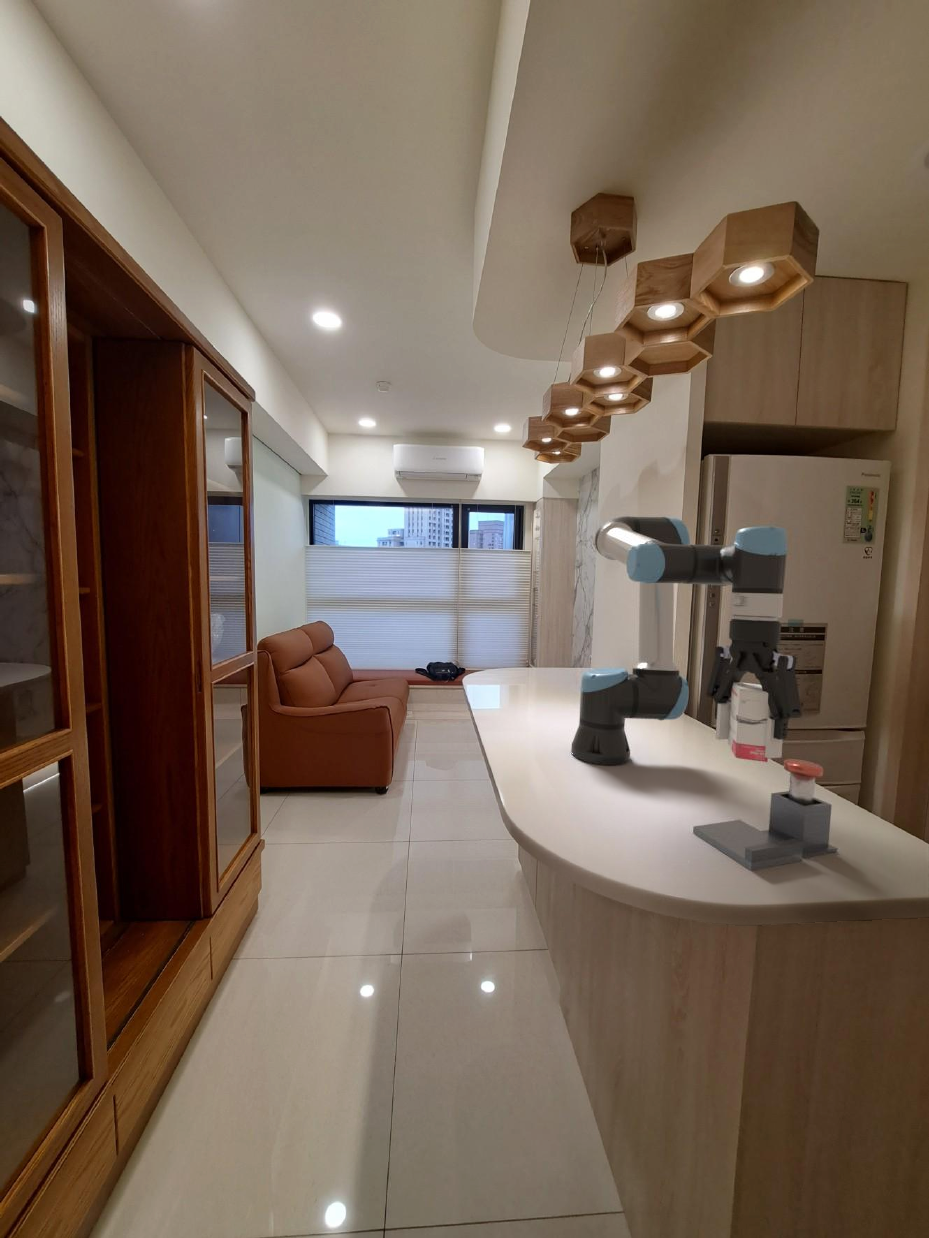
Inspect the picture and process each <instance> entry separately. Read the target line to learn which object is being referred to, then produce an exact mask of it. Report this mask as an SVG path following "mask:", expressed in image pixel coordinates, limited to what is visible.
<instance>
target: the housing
mask: <svg viewBox="0 0 929 1238" xmlns="http://www.w3.org/2000/svg"><path fill="white" fill-rule="evenodd" d="M788 796H789V790H786V791H780V792H779V791H778V792H772V793H771V794H770V807H769V824H768V829H764V830H761V831H762V832H764V833H765V834H767V835H769V836H771V837H773V838H775V839H776V840H778V841H783V840H789V839H795V838H797V839H798V840H800V841H802V842H803V851H802V859H806V858H812V857H816V856H821V855H822V856H823V855H827V854H832V853H836V852H838V848H837V847H836V846H834V845H832V844H830V843H829V842H830V841H829V840H830V828H831V815H832V804H831V803H829V802H827V801H826V802H825V801H823V800H822V799H819V798H816V797H814V801H813V805H808V806H803V805H801V804H798V803H796V802H794V801H792V800H790V799H788Z"/></svg>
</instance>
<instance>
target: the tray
mask: <svg viewBox="0 0 929 1238" xmlns="http://www.w3.org/2000/svg"><path fill="white" fill-rule="evenodd" d="M692 829H693V830H692V834H694V835H696V836H697V837H699V838H700V839H702V840H703V841H704V842H706V843H707V844H709V845H711V846H712V847H714V849H715V848H716V849H717V850H719V851H720V852H722V853H723V854H725V855H726V856H728V857H729V858H730V859H733V860H734V861H735V862H737V863H739V864H741V865H742V866H743V867H745V868H746V869H748V870H749V871H755V870H756V871H757V870H761V869H765V868H772V867H776V866H780V865H781V866H782V865H787V864H791V863H797V862H798V863H799V862H801V861H803V858H802V851H803V842H802V841H800V840H798V839H797V838H795V839H789V840H783V841H778V840H776V839H775V838H773V837H771V836H769V835H767V834H765V833H764V832H762V831H763V830H760V829H758V828H757V827H754V826H752V825H751V824H749V823H747V822H745V821H743V820H742V819H736V820H735V819H734V820H728V821H720V822H715V823H714V822H713V823H709V824H708V823H707V824H702V825H695V826H693V828H692Z"/></svg>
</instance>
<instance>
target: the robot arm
mask: <svg viewBox="0 0 929 1238" xmlns="http://www.w3.org/2000/svg"><path fill="white" fill-rule="evenodd" d="M594 547H595V550H596V551H597V552H598V553H599V554H600V555H601V556H602V557H603V558H606V559H608V560H610V561H618V562H619V563H621V564H622V565H624V566H626V573H627V575H628V578H629V579H630V581H632V582H637V583H639V591H638V592H639V595H638V597H639V599H638V600H639V602H638V603H639V604H638V605H639V607H638V660H637V663H635V664H634V666H632V674H631V673H629V672H628V671H627V669H625V668H622V667H599V668H598V667H597V668H593V669H588V670H587V671H585V672H584V673H583V674H582V676H581V682H580V688H579V690H580V700H579V701H580V703H579V721H578V727H577V729H576V732H575V734H574V737H573V739H572V740H573V741H572V742H571V750H570V751H571V752H572V753H573V755H575V756H576V757H578V758H579V759H578V758H577V759H578V760H580V759H582V760H581V761H583V760H584V761H583V762H586V763H590V764H594V765H603V766H620V765H624V764H627V763H628V762H630V760H631V750H630V746H629V742H628V738H627V735H626V730H625V724H626V723H625V722H626V719H636V720H639V719H641V720H658V721H665V720H666V721H667V720H671V721H672V720H677V719H679V718H680V717H681V716H682V715H683V713H684V712H686V709H687V706H688V703H689V702H688V701H689V697H690V696H689V695H690V694H689V693H690V691H689V688H690V687H689V685H688V681H687V679H686V678H685V677H684V676H682V675H680V668H678V666H677V665H676V664H675V663H674V616H675V615H674V612H675V611H674V604H675V602H674V601H675V599H674V594H675V593H674V592H675V591H674V590H675V589H674V587H675V584H687V585H710V586H713V587H715V586H716V587H717V586H718V587H719V586H721V587H727V586H732V587H731V588H732V589H731V599H730V600H731V603H730V615H731V616H733V618H732V619H730V620H729V627H728V628H729V629H728V630H729V631H728V638H729V640H731V643H730V646H727V645H726V646H723V645H721V646H720V645H719V646H715V649H714V650H715V651H714V653H715V656H714V663H713V666H712V668H711V669H712V670H711V672H710V673H711V674H710V677H709V681H708V684H707V688H706V692H705V695H706V696H707V697H708V698H712V699H713V701H714V703H715V704H714V719H715V720H716V725H715V727H716V729H715V739H716V740H718V741H720V740H728V737H729V724H730V709H731V693H732V686H733V682H741V681H742V679H743V677H744V675H746V674H747V673H750V674H753V675H754V676H755V678H756V680H758V681H759V683H760V684H759V685H761V686H762V689H763V691H764V692H767V693H768V705H769V708H770V714H771V715H770V718H767V731H766V746H765V757H766V758H768V759H778V758H782V755H783V753H782V752H783V740H786V739H787V737H788V727H789V724H788V723H789V721H790V719H798V718H802V716H803V713H802V707H801V700H800V696H799V695H800V694H799V689H798V681H797V675H796V665H797V659H798V658H797V657H796V655H790V654H788V655H786V654H782V653H780V652H779V650H778V643H779V642H780V641H781V631H782V629H781V628H782V623H781V622H780V621H779V620H778V619H779V618H780V619H781V618H782V617H783V605H784V587H785V579H786V578H785V577H786V566H787V564H786V563H787V554H788V549H787V531H786V530H785V529H784V528H782V527H780V526H779V527H778V526H770V525H769V526H765V525H764V526H751V527H744V528H740V529H738V530H737V531H736V533H735V536H734V541H733V544H728V545H723V544H722V545H718V544H714V545H713V544H691V542H690V533H689V530H688V528H687V525H686V524H685V523H684V522H683V521H682V519H679V518H674V517H667V516H661V517H660V516H629V515H628V516H618V517H613V518H612V519H609V520H607V521H606V522H604V523H603V524H601V526H600V527H599V528H598V529H597V531H596V533H595V536H594ZM775 666H776V667H775ZM571 752H570V753H571ZM572 753H571V754H572ZM573 755H572V756H573ZM575 756H574V757H575ZM576 757H575V758H576Z"/></svg>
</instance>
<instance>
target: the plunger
mask: <svg viewBox="0 0 929 1238" xmlns="http://www.w3.org/2000/svg"><path fill="white" fill-rule="evenodd" d="M783 769H784V770H785V771H786V772H789V785H788V791H789V796H788V799H790V800H792V801H794V802H796V803H798V804H801V805H803V806H808V805H813V801H814V798H815V788H816V787H815V785H816V784H815V783H816V779H817V778H822V777H823V776H824V767H823V766H822V765H820V764H818V763H815V762H812V761H809V760H803V759H796V758H786V759H784V761H783Z"/></svg>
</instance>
